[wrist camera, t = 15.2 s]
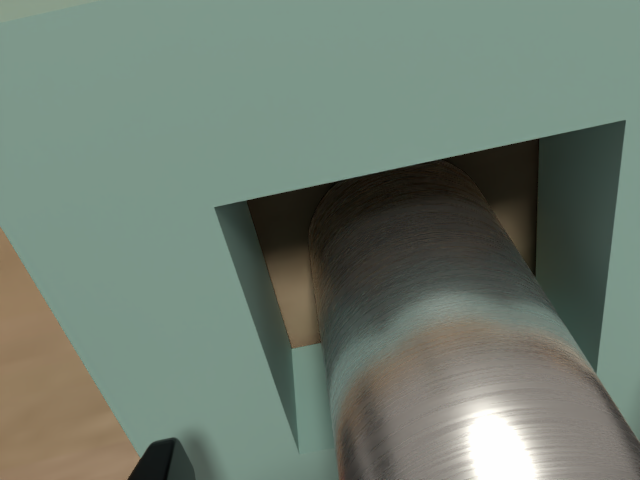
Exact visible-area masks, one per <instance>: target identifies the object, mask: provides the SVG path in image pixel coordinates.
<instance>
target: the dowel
mask: <svg viewBox="0 0 640 480" xmlns="http://www.w3.org/2000/svg"><path fill="white" fill-rule="evenodd" d="M308 247H309V254H310V262H311V270H312V277H313V285H314V293H315V300H316V308H317V315H318V323H319V331H320V338H321V346H322V354H323V361H324V369H325V377H326V384H327V392H328V400H329V407H330V415H331V423H332V430H333V438H334V446H335V453H336V461H337V469H338V476H339V480H640V442H639V440H638V439H637V437H636V436H635V434H634V433H633V431H632V429H631V428H630V426H629V425H628V423H627V422H626V420H625V418H624V417H623V415H622V414H621V412H620V411H619V409H618V407H617V406H616V404H615V403H614V401H613V399H612V398H611V396H610V395H609V393H608V392H607V390H606V388H605V387H604V385H603V384H602V382H601V381H600V379H599V377H598V376H597V374H596V373H595V371H594V370H593V368H592V366H591V365H590V363H589V362H588V360H587V359H586V357H585V355H584V354H583V352H582V351H581V349H580V348H579V346H578V344H577V343H576V341H575V340H574V338H573V336H572V335H571V333H570V332H569V330H568V329H567V327H566V325H565V324H564V322H563V321H562V319H561V318H560V316H559V314H558V313H557V311H556V310H555V308H554V307H553V305H552V303H551V302H550V300H549V299H548V297H547V296H546V294H545V292H544V291H543V289H542V288H541V286H540V285H539V283H538V281H537V280H536V278H535V277H534V275H533V273H532V272H531V270H530V269H529V267H528V266H527V264H526V262H525V261H524V259H523V258H522V256H521V255H520V253H519V251H518V250H517V248H516V247H515V245H514V244H513V242H512V240H511V239H510V237H509V236H508V234H507V233H506V231H505V229H504V228H503V226H502V225H501V223H500V222H499V220H498V218H497V217H496V215H495V214H494V212H493V210H492V209H491V207H490V206H489V204H488V203H487V201H486V199H485V198H484V196H483V195H482V193H481V192H480V190H479V189H478V187H477V186H476V184H475V183H474V181H473V180H472V179H471V178H470V177H469V176H468V175H467V174H466V173H464V172H463V171H462V170H460V169H459V168H458V167H456V166H454V165H452V164H450V163H449V162H446V161H444V160H441V159H439V160H434V161H429V162H424V163H420V164H415V165H410V166H406V167H401V168H396V169H391V170H387V171H382V172H377V173H373V174H368V175H363V176H358V177H354V178H349V179H344V180H340V181H337V182H336V183H335V184H334V185H333V186H332V187H331V188H330V189H329V190H328V192H327V193H326V194H325V195H324V196H323V198H322V199H321V201H320V202H319V204H318V206H317V208H316V210H315V212H314V214H313V217H312V220H311V223H310V227H309V234H308Z"/></svg>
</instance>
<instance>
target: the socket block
mask: <svg viewBox="0 0 640 480" xmlns="http://www.w3.org/2000/svg"><path fill="white" fill-rule="evenodd" d="M537 138H539V169H538V206H537V244H536V280H537V281H538V283H539V285H540V286H541V288H542V289H543V291H544V292H545V294H546V296H547V297H548V299H549V300H550V302H551V303H552V305H553V307H554V308H555V310H556V311H557V313H558V314H559V316H560V318H561V319H562V321H563V322H564V324H565V325H566V327H567V329H568V330H569V332H570V333H571V335H572V336H573V338H574V340H575V341H576V343H577V344H578V346H579V348H580V349H581V351H582V352H583V354H584V355H585V357H586V359H587V360H588V362H589V363H590V365H591V366H592V368H593V370H594V371H595V373H596V374H597V376H598V377H599V379H600V381H601V382H602V384H603V385H604V387H605V388H606V390H607V392H608V393H609V395H610V396H611V398H612V399H613V401H614V403H615V404H616V406H617V407H618V409H619V411H620V412H621V414H622V415H623V417H624V418H625V420H626V422H627V423H628V425H629V426H630V428H631V429H632V431H633V433H634V434H635V436H636V437H637V439H638V440H639V442H640V0H0V226H1V228H2V230H3V231H4V233H5V235H6V236H7V238H8V240H9V241H10V243H11V244H12V246H13V248H14V249H15V251H16V253H17V254H18V256H19V258H20V259H21V261H22V263H23V264H24V266H25V268H26V269H27V271H28V273H29V274H30V276H31V278H32V279H33V281H34V283H35V284H36V286H37V288H38V289H39V291H40V293H41V294H42V296H43V297H44V299H45V301H46V302H47V304H48V306H49V307H50V309H51V311H52V312H53V314H54V316H55V317H56V319H57V321H58V322H59V324H60V326H61V327H62V329H63V331H64V332H65V334H66V336H67V337H68V339H69V341H70V342H71V344H72V346H73V347H74V349H75V350H76V352H77V354H78V355H79V357H80V359H81V360H82V362H83V364H84V365H85V367H86V369H87V370H88V372H89V374H90V375H91V377H92V379H93V380H94V382H95V384H96V385H97V387H98V389H99V390H100V392H101V394H102V395H103V397H104V399H105V400H106V402H107V404H108V405H109V407H110V408H111V410H112V412H113V413H114V415H115V417H116V418H117V420H118V422H119V423H120V425H121V427H122V428H123V430H124V432H125V433H126V435H127V437H128V438H129V440H130V442H131V443H132V445H133V447H134V448H135V450H136V452H137V453H138V455H139V457H140V458H141V457H142V456H143V454H144V452H145V451H146V449H147V448H148V446H149V445H150V444H151V443H152V442H154V441H157V440H162V439H167V438H172V437H175V438H177V439H179V441H180V442H181V444H182V446H183V448H184V450H185V452H186V453H187V455H188V457H189V459H190V461H191V463H192V465H193V467H194V471H195V477H196V480H339V476H338V469H337V461H336V453H335V446H334V438H333V430H332V423H331V415H330V407H329V400H328V392H327V384H326V377H325V369H324V361H323V354H322V346H321V343H318V344H313V345H309V346H304V347H299V348H294V349H292V348H291V345H290V342H289V339H288V335H287V332H286V329H285V325H284V322H283V319H282V316H281V312H280V309H279V306H278V303H277V299H276V296H275V293H274V289H273V286H272V283H271V280H270V276H269V273H268V270H267V267H266V263H265V260H264V257H263V253H262V250H261V247H260V244H259V240H258V237H257V234H256V231H255V227H254V224H253V221H252V218H251V214H250V211H249V208H248V204H247V201H246V200H250V199H255V198H259V197H264V196H269V195H274V194H278V193H283V192H288V191H292V190H297V189H302V188H307V187H311V186H316V185H321V184H325V183H330V182H335V181H340V180H344V179H349V178H354V177H358V176H363V175H368V174H373V173H377V172H382V171H387V170H391V169H396V168H401V167H406V166H410V165H415V164H420V163H424V162H429V161H434V160H439V159H443V158H448V157H453V156H457V155H462V154H467V153H471V152H476V151H481V150H486V149H490V148H495V147H500V146H504V145H509V144H514V143H519V142H523V141H528V140H533V139H537Z"/></svg>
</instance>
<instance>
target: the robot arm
mask: <svg viewBox="0 0 640 480" xmlns="http://www.w3.org/2000/svg"><path fill="white" fill-rule="evenodd" d="M127 480H196V477H195V471H194V467H193V465H192V463H191V461H190V459H189V457H188V455H187V453H186V452H185V450H184V448H183V446H182V444H181V442H180V441H179V439H177V438H175V437H172V438H167V439H162V440H157V441H154V442H152V443H151V444H150V445H149V446H148V448H147V449H146V451H145V452H144V454H143V456H142V457H141V459H140V460H139V462H138V464H137V465H136V467H135V468H134V470H133V471H132V473H131V475H130V476H129V478H128V479H127Z"/></svg>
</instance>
